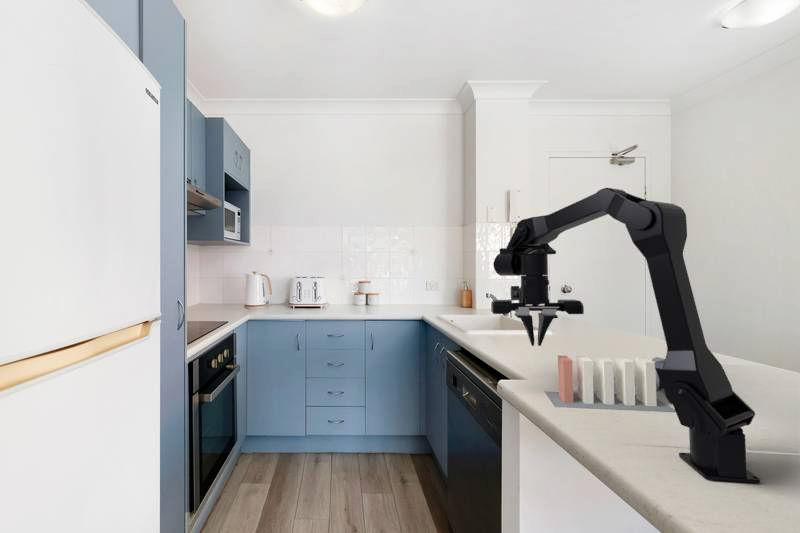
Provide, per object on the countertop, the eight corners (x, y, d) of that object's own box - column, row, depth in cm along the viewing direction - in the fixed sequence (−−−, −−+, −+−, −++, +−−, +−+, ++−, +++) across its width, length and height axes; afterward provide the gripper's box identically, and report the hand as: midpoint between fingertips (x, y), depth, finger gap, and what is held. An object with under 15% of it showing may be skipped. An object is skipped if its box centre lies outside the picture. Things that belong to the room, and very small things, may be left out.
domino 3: (614, 404, 75) (612, 361, 75) (604, 404, 75) (603, 361, 75) (605, 397, 79) (604, 356, 79) (597, 397, 79) (595, 356, 79)
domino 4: (635, 405, 74) (633, 361, 74) (625, 405, 74) (624, 361, 74) (625, 398, 78) (624, 357, 78) (616, 397, 79) (615, 356, 79)
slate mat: (679, 414, 70) (678, 412, 70) (555, 408, 74) (555, 406, 74) (652, 397, 80) (652, 395, 80) (544, 392, 84) (544, 391, 84)
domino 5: (656, 406, 73) (655, 362, 73) (646, 406, 74) (645, 362, 74) (645, 399, 78) (644, 357, 78) (636, 398, 78) (635, 357, 78)
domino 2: (593, 403, 75) (592, 360, 75) (584, 403, 76) (583, 360, 76) (586, 396, 80) (585, 356, 80) (577, 396, 80) (576, 355, 80)
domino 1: (573, 402, 76) (572, 360, 76) (564, 402, 76) (563, 360, 76) (567, 395, 80) (566, 355, 80) (558, 395, 81) (557, 355, 81)
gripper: (568, 274, 86) (569, 339, 86) (488, 276, 89) (490, 338, 89) (583, 275, 75) (585, 349, 75) (492, 276, 78) (494, 347, 78)
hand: (536, 345), depth 80 cm, fingers closed
